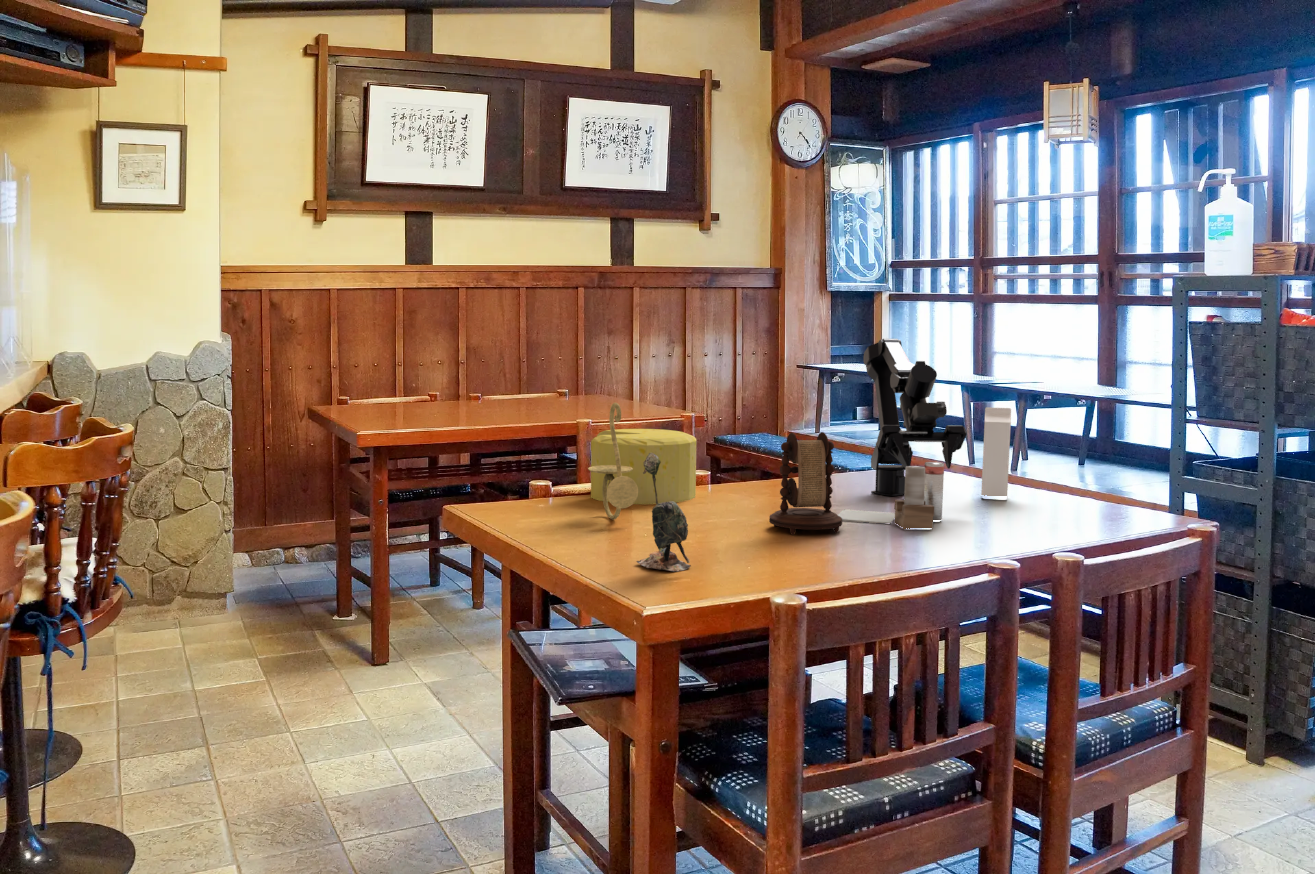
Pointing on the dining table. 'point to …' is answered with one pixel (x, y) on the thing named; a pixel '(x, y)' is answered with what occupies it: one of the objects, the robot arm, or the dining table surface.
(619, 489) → the wall sconce
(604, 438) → the cheese
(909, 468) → the white candle wooden holder
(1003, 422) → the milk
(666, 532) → the stone figurine
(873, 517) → the grey mat
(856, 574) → the dining table surface
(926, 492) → the silver cylinder copper band
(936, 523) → the dining table surface
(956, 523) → the dining table surface
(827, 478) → the beaded wooden stand
